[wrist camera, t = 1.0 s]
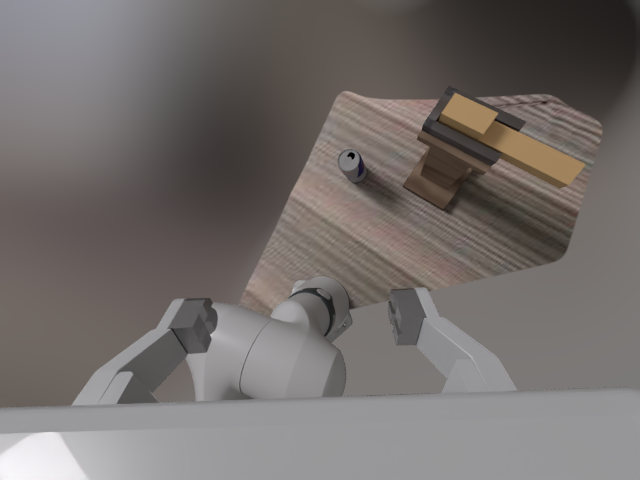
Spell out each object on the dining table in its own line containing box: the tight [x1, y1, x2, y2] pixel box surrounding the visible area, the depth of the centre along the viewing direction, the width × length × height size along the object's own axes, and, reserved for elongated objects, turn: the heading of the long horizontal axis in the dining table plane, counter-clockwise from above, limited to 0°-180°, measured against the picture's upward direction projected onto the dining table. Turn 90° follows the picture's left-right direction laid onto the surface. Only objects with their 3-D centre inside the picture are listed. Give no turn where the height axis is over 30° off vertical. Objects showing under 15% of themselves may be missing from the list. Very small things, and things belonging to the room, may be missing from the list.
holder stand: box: [403, 86, 526, 210], centre depth 49 cm, size 14×11×28 cm
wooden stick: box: [438, 93, 586, 188], centre depth 34 cm, size 3×18×4 cm, turn 56°
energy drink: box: [338, 149, 367, 183], centre depth 63 cm, size 5×5×12 cm
